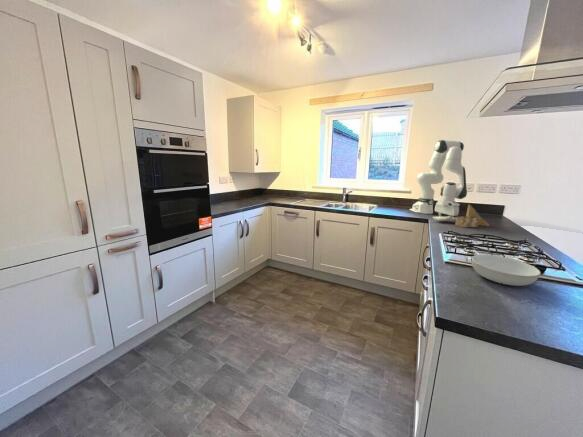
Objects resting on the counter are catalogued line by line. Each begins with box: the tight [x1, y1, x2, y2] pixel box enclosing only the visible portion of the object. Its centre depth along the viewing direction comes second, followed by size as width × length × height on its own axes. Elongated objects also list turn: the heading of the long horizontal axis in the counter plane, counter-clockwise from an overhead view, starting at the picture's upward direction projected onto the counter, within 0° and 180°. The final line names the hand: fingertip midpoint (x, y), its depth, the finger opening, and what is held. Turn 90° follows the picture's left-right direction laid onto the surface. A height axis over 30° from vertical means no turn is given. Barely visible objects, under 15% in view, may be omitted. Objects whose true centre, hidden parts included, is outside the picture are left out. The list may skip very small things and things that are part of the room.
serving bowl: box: [471, 254, 542, 287], centre depth 97 cm, size 21×21×7 cm
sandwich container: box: [465, 204, 490, 227], centre depth 192 cm, size 9×15×15 cm, turn 63°
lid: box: [432, 215, 456, 222], centre depth 196 cm, size 17×7×2 cm, turn 103°
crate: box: [454, 215, 480, 228], centre depth 185 cm, size 16×5×7 cm, turn 103°
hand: (444, 219), depth 197 cm, fingers closed on lid, 7 cm apart
